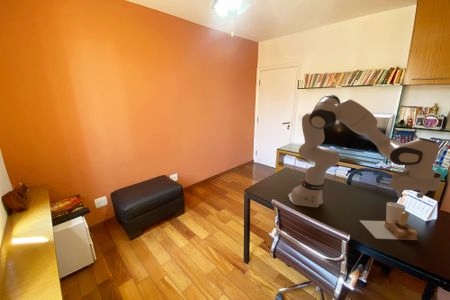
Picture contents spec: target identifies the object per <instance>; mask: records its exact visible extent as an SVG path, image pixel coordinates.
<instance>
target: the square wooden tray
mask: <svg viewBox="0 0 450 300" xmlns="http://www.w3.org/2000/svg"><path fill="white" fill-rule="evenodd" d="M385 221H386V222H385V225H384V227H385V228H386V229H388V230H389V231H390V232H391V233H392V234H393V235H394V236H395V237H396V238H398V239H397V240H404V239H417V237H418V235H419V232H418V231H417V230H416V229H414V228H413V227H412V226H410V225H409V224H408V222H407V223H406V226H405V229H400V228H398V227H397V225H398V222H399V221H393V220H385Z"/></svg>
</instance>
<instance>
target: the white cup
mask: <svg viewBox="0 0 450 300" xmlns="http://www.w3.org/2000/svg"><path fill="white" fill-rule="evenodd" d="M385 210H386V214H385V215H386V217H385V218H386V220H393V221H399V219H400V216H401V213H402V212H406V206H405V205H404V204H401V203H398V202H392V201H388V202H386V207H385ZM386 220H385V221H386Z"/></svg>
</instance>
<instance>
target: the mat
mask: <svg viewBox="0 0 450 300" xmlns="http://www.w3.org/2000/svg"><path fill="white" fill-rule="evenodd" d="M359 222H360V223H361V224H362V225H363V226H364V227H365V228H366V229H367V230H368V231H369V233H370V234H371V235H372V236H373V237H374V238H375V239H381V240H399V239H398V238H396V237H395V236H394V235H393V234H392V233H391V232H390V231H389V230H388V229H386V228H385V227H384V225H385V222H386V220H361V219H359ZM403 240H408V241H409V240H410V241H412V240H413V241H418V239H417V238H416V239H403Z"/></svg>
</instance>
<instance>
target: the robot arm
mask: <svg viewBox="0 0 450 300" xmlns="http://www.w3.org/2000/svg"><path fill="white" fill-rule="evenodd" d="M337 121H338V122H341V123H342V124H343V125H345V127H347V128H348V129H350V130H351V131H352V132H353V133H355V134H358V135H359V136H364V137H365V138H367V139H368V140H369V141H370V142H372V143H373V144H374V145H375V146H376V149H377V151H378V154H379V155H380V156H382V157H384V158H385V159H387V161H390V162H391V163H393V164H395V165H397V166H405V169H404V171H397V172H395V173H393V176H392V177H391V179H390V180H389V181H390V182H389V184H388V187H390V188H391V189H393V190H394V191H396V197H397V198H398V199H399V198H401V199H402V198H403V197H404V194H403V192H404V191H419V192H418V193H416V197H417V198H418V199H423V198H424V196H425V195H426V194H427V193H428V192H429V191H430V192H431V191H432V192H436V191H437V190H438V189H439V187H440V184H441V178H443V173H441V172H438V171H436V170H434V163H435V162H436V160H437V159H438V155H439V150H440V144H439V143H438V142H437V141H435V140H432V139H429V138H424V137H417V138H415V139H414V140H411V141H409V142H403V143H402V142H400V141H399V140H397V139H394V138H391V137H388V136H387V135H386V134H384V133H383V132H382V131H381V130H380V129H379V128H378V127H377V126H378V119H377V118H376V117H375V115H374V114H373V113H372V112H371V111H370V110H369V109H367V108H366V107H364V106H363V105H362V104H360V103H359V102H357V101H355V100H353V99H349V98H347V99H344V100H342V101H341V100H340V98H339V97H338V96H337V95H335V94H327V95H325V96H323V97H321V98H320V99H319V102H317V104H316V105H315V106H314V107H313V110H312V111H311V112H310V111H309V112H306V113H305V114H304V115H303V116H302V118H301V127H302V128H301V129H302V133H303V139H304V143H303V144H302V145H300V147H299V148H298V155H299V157H301V158H302V159H304V160H306V161H310V162H313V163H314V165H313V166H309V167H308V168H307V169H306V172H305V178H304V179H302V178H300V179H299V182H300V183H301V184H300V185H298V186H296V187H294V188H293V189H292V192H289V193H288V197H289V198H288V200H289V201H290V203H292V204H293V205H294V206H301V207H303V206H304V207H309V208H319V207H320V205H322V204H323V203H324V200H323V190H324V185H325V184H324V180H325V175H326V173H327V171H328V170H329V169H330V168H332V167H335V166H337V165H338V164H339V162H340V159H341V157H340V153H339V152H338V151H337V150H334V149H332V148H329V147H326V146H325V147H324V146H322V145H321V144H323V143H324V141H325V138H326V137H325V131H324V129H325V128H328V127H329V126H332V125H335V124H336V122H337Z"/></svg>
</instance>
